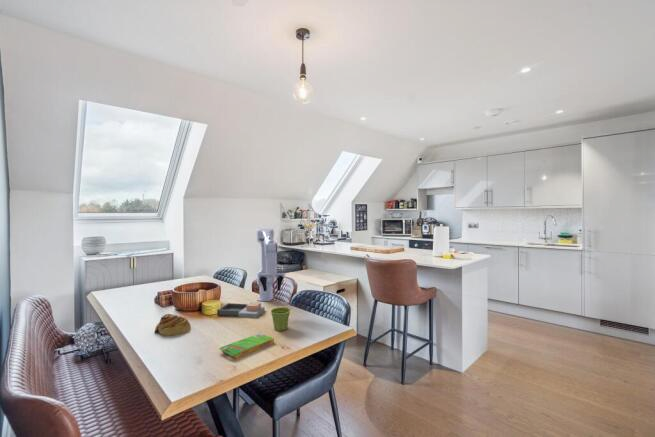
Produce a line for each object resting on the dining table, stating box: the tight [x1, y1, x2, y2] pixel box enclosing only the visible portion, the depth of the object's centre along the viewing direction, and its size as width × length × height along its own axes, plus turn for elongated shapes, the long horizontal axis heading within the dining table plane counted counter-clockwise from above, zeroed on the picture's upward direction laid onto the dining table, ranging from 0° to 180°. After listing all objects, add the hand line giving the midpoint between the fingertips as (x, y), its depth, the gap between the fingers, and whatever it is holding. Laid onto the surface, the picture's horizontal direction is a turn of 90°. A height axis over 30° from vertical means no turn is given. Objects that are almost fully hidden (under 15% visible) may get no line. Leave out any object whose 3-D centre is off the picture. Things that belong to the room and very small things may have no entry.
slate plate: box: [238, 306, 266, 318], centre depth 170 cm, size 12×10×2 cm
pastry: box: [154, 313, 191, 337], centre depth 146 cm, size 13×15×8 cm
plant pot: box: [270, 307, 292, 332], centre depth 149 cm, size 9×9×9 cm
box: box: [216, 302, 248, 318], centre depth 172 cm, size 12×12×3 cm
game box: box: [218, 332, 275, 360], centre depth 128 cm, size 3×10×20 cm
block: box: [246, 302, 262, 311], centre depth 172 cm, size 6×6×2 cm
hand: (272, 290), depth 170 cm, fingers open, 7 cm apart
